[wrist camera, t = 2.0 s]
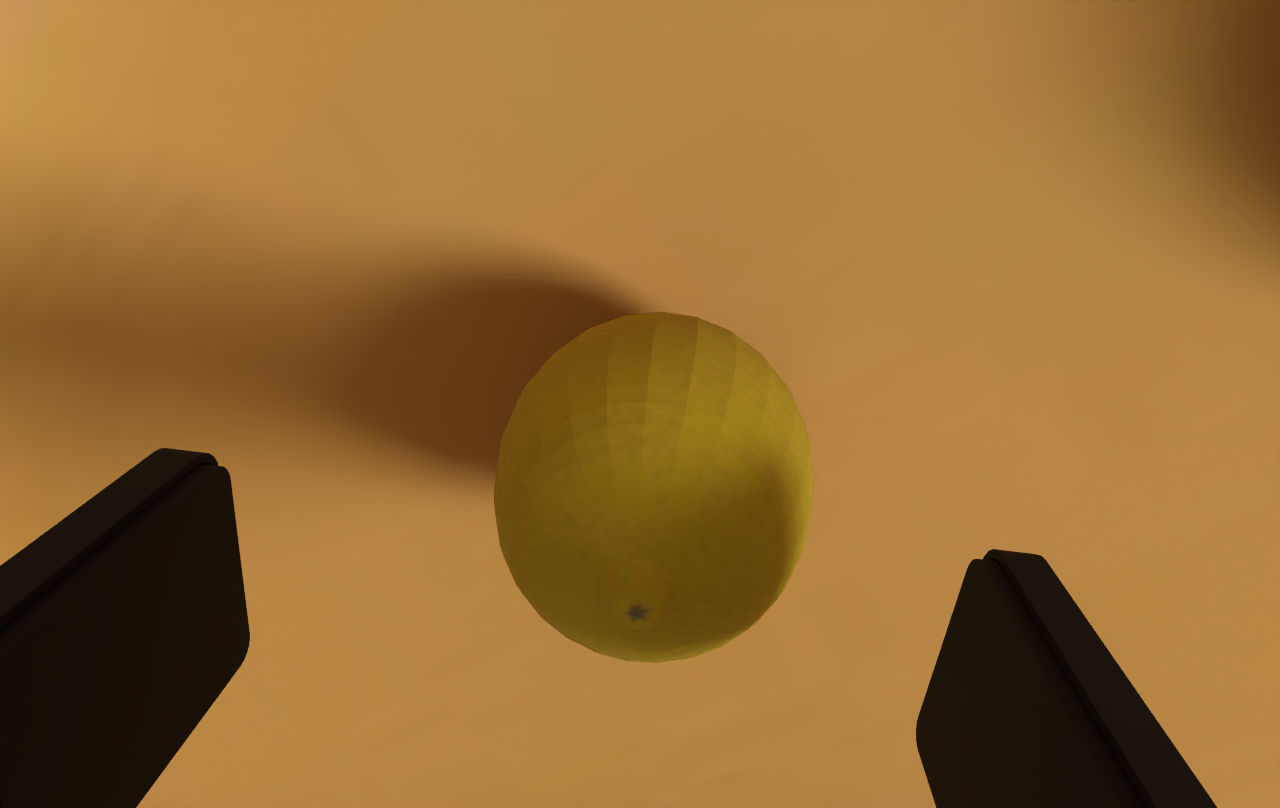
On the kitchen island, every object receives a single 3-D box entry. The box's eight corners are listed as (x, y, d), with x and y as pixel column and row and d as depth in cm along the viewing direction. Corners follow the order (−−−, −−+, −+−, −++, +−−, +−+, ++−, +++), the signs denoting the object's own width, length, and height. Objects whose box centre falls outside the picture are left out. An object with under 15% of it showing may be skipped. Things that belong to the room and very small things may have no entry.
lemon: (593, 520, 19) (519, 795, 12) (510, 310, 18) (363, 483, 10) (817, 466, 18) (887, 731, 11) (755, 236, 16) (789, 370, 9)
